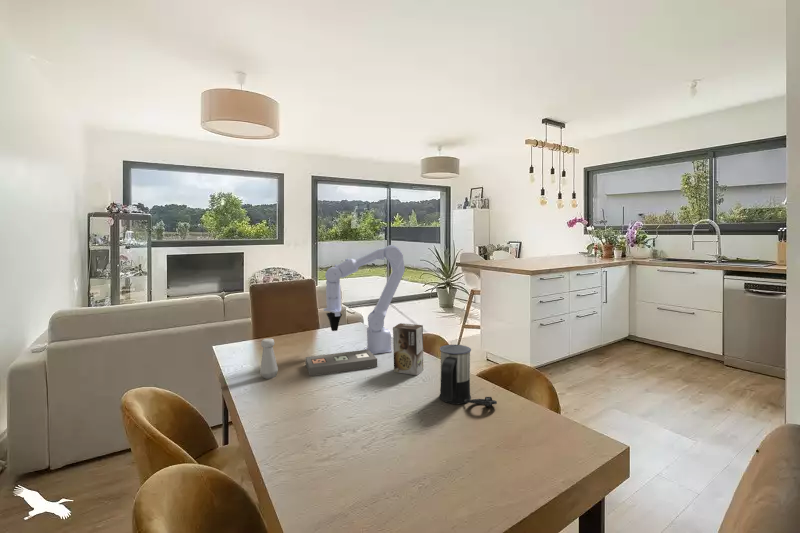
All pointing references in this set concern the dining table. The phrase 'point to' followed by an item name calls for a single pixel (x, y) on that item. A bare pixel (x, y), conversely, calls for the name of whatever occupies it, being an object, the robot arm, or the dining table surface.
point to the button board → (340, 363)
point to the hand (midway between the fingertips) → (334, 330)
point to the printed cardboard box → (408, 348)
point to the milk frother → (457, 376)
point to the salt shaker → (268, 359)
